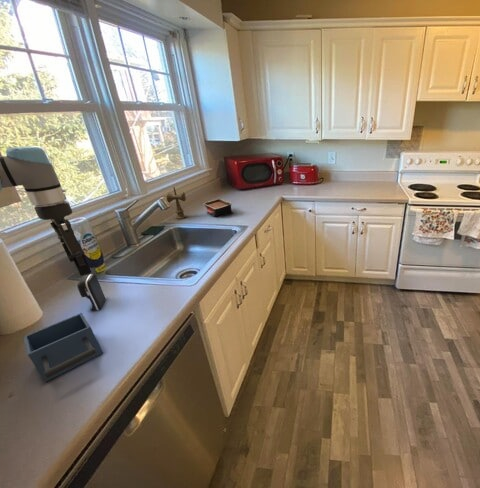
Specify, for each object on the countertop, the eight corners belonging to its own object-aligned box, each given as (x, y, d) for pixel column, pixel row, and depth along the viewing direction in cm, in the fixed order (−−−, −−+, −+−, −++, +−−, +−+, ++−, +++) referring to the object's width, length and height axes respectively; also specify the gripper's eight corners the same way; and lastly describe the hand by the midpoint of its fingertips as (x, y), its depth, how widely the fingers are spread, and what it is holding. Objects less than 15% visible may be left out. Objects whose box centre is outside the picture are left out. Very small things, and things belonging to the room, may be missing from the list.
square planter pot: (214, 222, 173) (213, 207, 168) (202, 211, 183) (201, 197, 178) (235, 218, 182) (235, 204, 177) (223, 208, 192) (223, 194, 188)
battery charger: (93, 301, 99) (81, 274, 94) (106, 298, 100) (94, 271, 95) (87, 313, 93) (73, 284, 88) (101, 310, 94) (88, 282, 89)
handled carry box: (39, 362, 75) (23, 336, 71) (93, 337, 83) (81, 312, 79) (50, 401, 64) (32, 372, 60) (112, 367, 72) (99, 340, 68)
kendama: (174, 217, 176) (166, 185, 167) (190, 216, 178) (183, 185, 169) (171, 220, 171) (163, 188, 162) (188, 219, 172) (180, 187, 164)
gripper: (77, 208, 76) (106, 274, 85) (58, 193, 90) (84, 251, 100) (40, 216, 70) (75, 285, 80) (26, 198, 85) (57, 259, 94)
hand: (80, 266), depth 90 cm, fingers open, 13 cm apart
